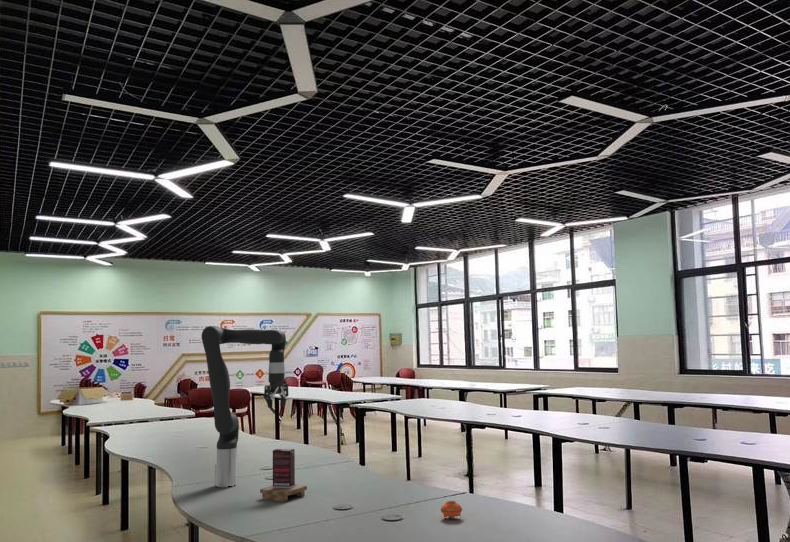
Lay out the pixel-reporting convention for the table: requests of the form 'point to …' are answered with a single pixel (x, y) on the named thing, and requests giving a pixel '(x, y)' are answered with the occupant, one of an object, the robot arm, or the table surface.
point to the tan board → (282, 492)
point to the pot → (451, 509)
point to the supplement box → (284, 468)
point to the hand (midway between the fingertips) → (276, 406)
